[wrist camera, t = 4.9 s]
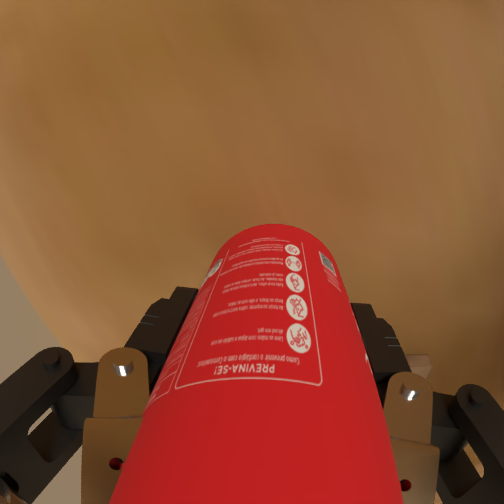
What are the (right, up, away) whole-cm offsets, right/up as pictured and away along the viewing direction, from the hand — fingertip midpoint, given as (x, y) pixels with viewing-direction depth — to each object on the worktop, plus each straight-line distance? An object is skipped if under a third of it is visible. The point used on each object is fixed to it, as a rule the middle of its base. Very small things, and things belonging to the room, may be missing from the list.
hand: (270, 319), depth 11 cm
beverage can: (0, +1, +3) cm, 3 cm away
